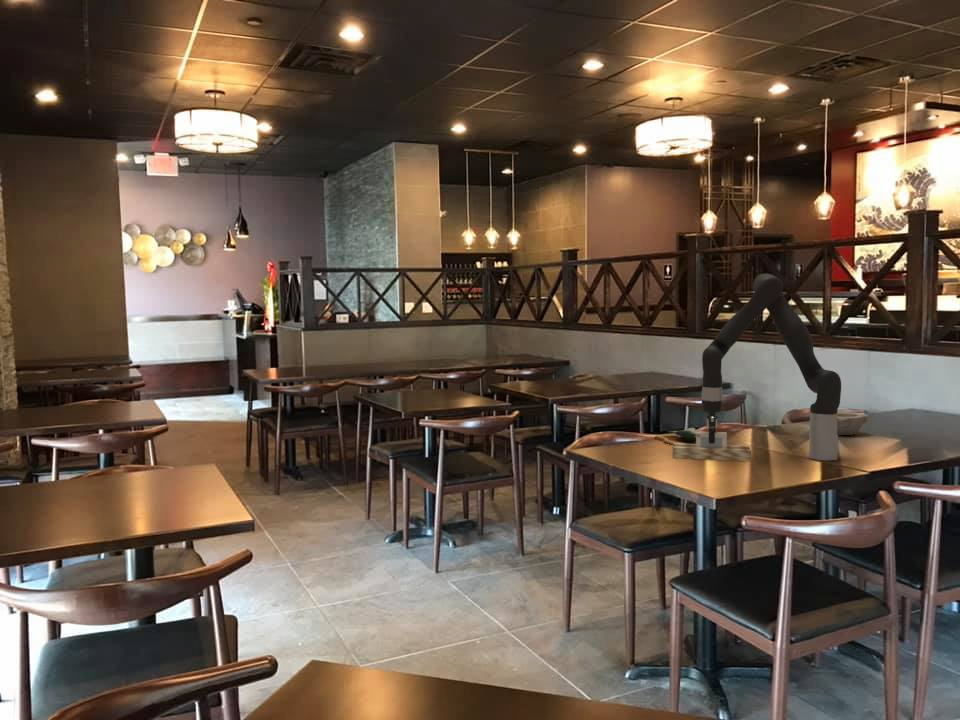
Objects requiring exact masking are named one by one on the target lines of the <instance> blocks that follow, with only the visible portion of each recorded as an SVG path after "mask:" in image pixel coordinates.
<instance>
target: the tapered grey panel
mask: <svg viewBox="0 0 960 720" xmlns="http://www.w3.org/2000/svg"><path fill="white" fill-rule="evenodd" d="M727 443H728V432H727V431H723V432H722V431H716V433H715V443H714V444H710V443H709V432H708V431H699V430H698V431H697V430H696V447H701V448H725V449H727V445H728V444H727Z"/></svg>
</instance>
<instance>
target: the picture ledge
mask: <svg viewBox="0 0 960 720" xmlns="http://www.w3.org/2000/svg"><path fill="white" fill-rule="evenodd" d="M685 458H693V459H692V460H707V459H709V460H710V461H715V460H716V461H731V462H732V461H733V462H752V449H751V447H750V445H733V444H731V445H729V444H727V449H725V448H701V447H696V444H685V443H673V446H672V459H685Z"/></svg>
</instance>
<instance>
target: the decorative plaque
mask: <svg viewBox="0 0 960 720" xmlns="http://www.w3.org/2000/svg"><path fill="white" fill-rule="evenodd" d="M696 431H697V430H696V428H695V427H689V428H686V429H683V430H682V429H681V430H668V431H666V433H664V434H659V435H657V434H656V435H655V436H654V440H656V441H659V442H662V441H664V442H663V444H664V443H665V444H664V445H666V444H669V445H673V443H685V444H696ZM669 445H668V446H669Z"/></svg>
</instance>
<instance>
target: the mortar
mask: <svg viewBox="0 0 960 720" xmlns="http://www.w3.org/2000/svg"><path fill="white" fill-rule="evenodd" d="M869 419H870V417H869V415H868V414H867V413H866V414H864V413H861V412H860V413H859V412H852V411H837V435H838V436H839V435H853V434H856V435H857V434H858V433H859V431H860V430H861V428H862V426H863V425H864V424H867V422H868V420H869ZM853 436H854V435H853Z"/></svg>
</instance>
